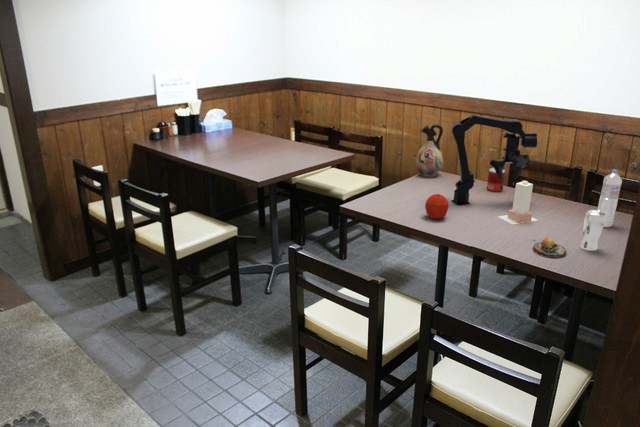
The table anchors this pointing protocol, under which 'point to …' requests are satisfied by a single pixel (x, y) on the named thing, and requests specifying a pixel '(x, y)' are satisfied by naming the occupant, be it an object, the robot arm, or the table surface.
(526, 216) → the base block
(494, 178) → the canned food
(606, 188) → the water bottle
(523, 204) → the tall block
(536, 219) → the baseplate
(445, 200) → the apple
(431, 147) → the ceramic jug
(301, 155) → the table surface
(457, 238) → the table surface
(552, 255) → the burger
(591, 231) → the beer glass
